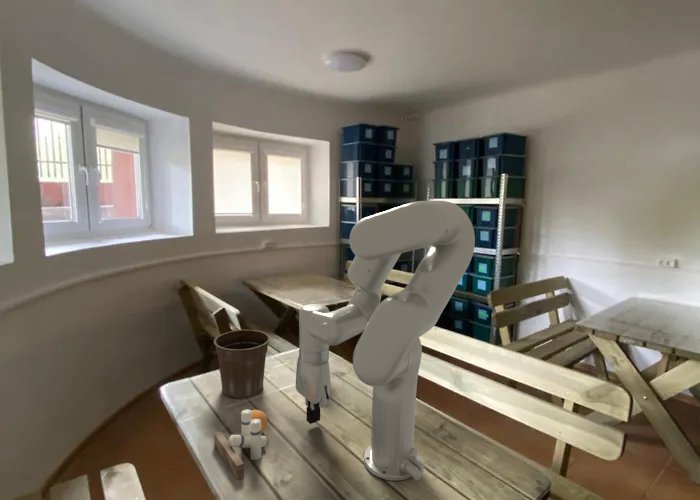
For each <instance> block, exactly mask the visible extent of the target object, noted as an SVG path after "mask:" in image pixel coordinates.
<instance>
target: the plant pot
mask: <svg viewBox="0 0 700 500" xmlns="http://www.w3.org/2000/svg"><path fill="white" fill-rule="evenodd" d="M270 341H271V337H270V335H269V334H267V333H266V332H264V331H261V330H255V329H237V330H231V331H228V332H225V333H221V334H219V335H218V336H216V337H215V338H214V339H213V343H214V346H215V349H216V350H215V351H216V355H217V358H218V365H219V373H220V381H221V391H222V394H224V395H225V397H228V398H232V397H234V398H235V399H245V398H246V399H248V398H250V397H251V398H252V396H255V395H257V394H259V393H260V392H261V391H262V390H263V389H264V379H265V367H266V358H267V357H266V356H267V353H268V348H269V347H268V346H269V343H270Z"/></svg>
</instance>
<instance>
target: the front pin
mask: <svg viewBox="0 0 700 500" xmlns="http://www.w3.org/2000/svg"><path fill="white" fill-rule="evenodd" d="M228 442H229V446H230V447H232V448H233V447H234V448H235V447H236V448H243V447H250V435H242V434H231V435H230V436H229V438H228ZM267 442H268V438H267V436H266V435H261V448H265V447H266V446H267Z"/></svg>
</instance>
